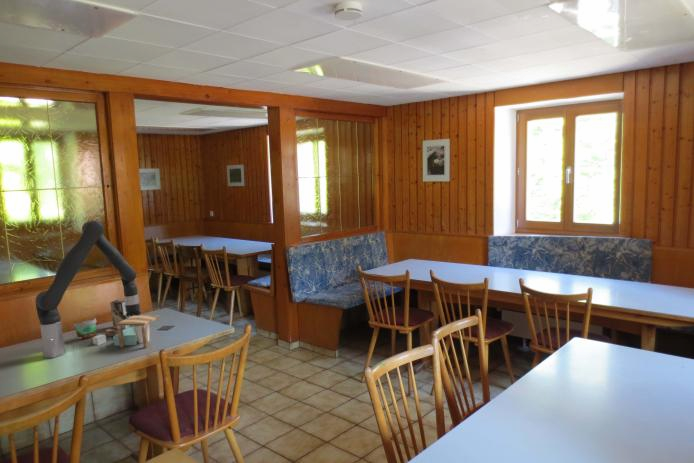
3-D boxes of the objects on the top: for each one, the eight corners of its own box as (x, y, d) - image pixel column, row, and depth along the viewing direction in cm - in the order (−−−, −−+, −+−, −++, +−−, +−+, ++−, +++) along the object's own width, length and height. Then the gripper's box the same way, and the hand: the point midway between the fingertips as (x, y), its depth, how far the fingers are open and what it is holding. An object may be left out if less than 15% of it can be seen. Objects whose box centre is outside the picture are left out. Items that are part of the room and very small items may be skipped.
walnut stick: (125, 335, 281) (124, 330, 281) (121, 336, 279) (121, 331, 278) (108, 334, 285) (108, 329, 285) (105, 335, 283) (104, 330, 283)
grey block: (98, 345, 266) (97, 338, 266) (93, 344, 268) (92, 337, 268) (106, 342, 271) (105, 334, 270) (101, 341, 273) (100, 334, 272)
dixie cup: (148, 343, 263) (145, 325, 261) (132, 344, 263) (130, 326, 262) (154, 338, 271) (152, 320, 270) (139, 339, 271) (137, 321, 270)
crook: (135, 344, 262) (134, 335, 261) (114, 345, 263) (113, 336, 263) (155, 331, 284) (154, 322, 283) (135, 331, 285) (134, 323, 284)
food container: (80, 342, 273) (78, 324, 272) (75, 340, 277) (73, 323, 276) (102, 335, 283) (100, 318, 281) (97, 333, 286) (95, 317, 285)
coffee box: (133, 325, 298) (129, 299, 296) (125, 328, 292) (122, 302, 290) (120, 325, 301) (117, 299, 299) (112, 328, 295) (109, 302, 293)
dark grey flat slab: (168, 330, 284) (168, 329, 284) (157, 330, 286) (157, 329, 286) (174, 326, 291) (174, 325, 291) (163, 326, 292) (163, 325, 292)
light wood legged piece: (147, 347, 256) (144, 323, 255) (119, 347, 259) (116, 323, 258) (162, 338, 270) (159, 315, 269) (136, 338, 273) (133, 315, 272)
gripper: (116, 304, 278) (120, 334, 281) (139, 304, 276) (142, 334, 278) (125, 301, 286) (128, 329, 288) (147, 300, 283) (150, 329, 285)
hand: (135, 331), depth 283 cm, fingers closed on crook, 3 cm apart
